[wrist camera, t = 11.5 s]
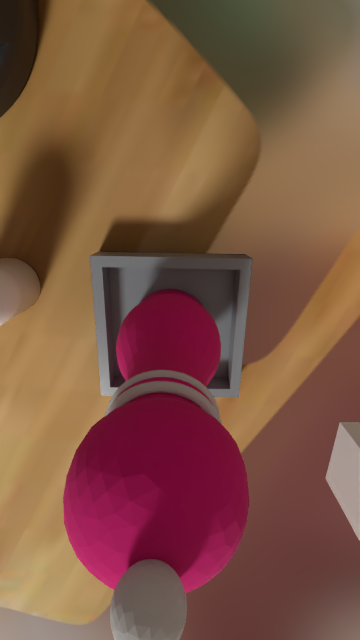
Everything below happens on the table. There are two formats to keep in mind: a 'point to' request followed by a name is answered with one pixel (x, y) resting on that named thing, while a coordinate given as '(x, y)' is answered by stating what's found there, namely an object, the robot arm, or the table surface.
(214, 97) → the table surface
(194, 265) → the tray
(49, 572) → the table surface
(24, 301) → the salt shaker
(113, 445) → the pepper mill
